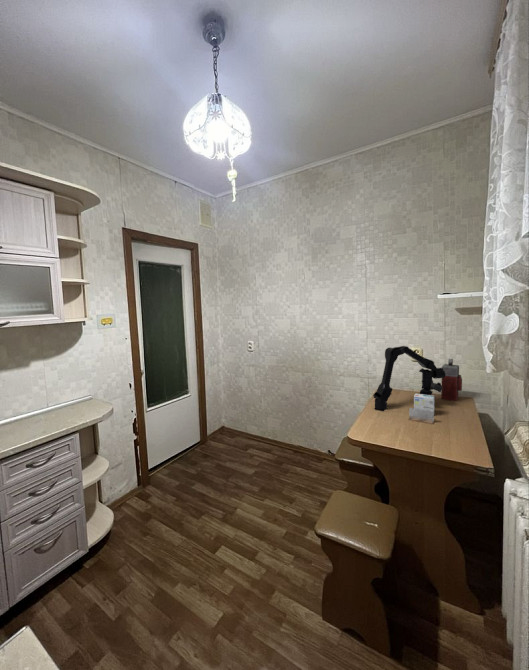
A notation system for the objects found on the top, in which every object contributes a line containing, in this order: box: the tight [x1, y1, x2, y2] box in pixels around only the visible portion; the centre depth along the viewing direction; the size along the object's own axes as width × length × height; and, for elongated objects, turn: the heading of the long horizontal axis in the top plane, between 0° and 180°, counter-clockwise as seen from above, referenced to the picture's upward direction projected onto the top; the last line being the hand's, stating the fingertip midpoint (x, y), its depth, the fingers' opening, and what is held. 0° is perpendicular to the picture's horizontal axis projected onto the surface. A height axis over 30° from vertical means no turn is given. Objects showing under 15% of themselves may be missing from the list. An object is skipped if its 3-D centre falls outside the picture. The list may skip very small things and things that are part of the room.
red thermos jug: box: [440, 358, 463, 402], centre depth 192 cm, size 9×11×28 cm
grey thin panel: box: [408, 407, 435, 423], centre depth 159 cm, size 12×1×6 cm, turn 55°
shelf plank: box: [408, 418, 435, 425], centre depth 157 cm, size 12×3×1 cm, turn 55°
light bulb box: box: [413, 393, 436, 412], centre depth 169 cm, size 11×7×11 cm, turn 58°
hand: (426, 402), depth 182 cm, fingers closed
